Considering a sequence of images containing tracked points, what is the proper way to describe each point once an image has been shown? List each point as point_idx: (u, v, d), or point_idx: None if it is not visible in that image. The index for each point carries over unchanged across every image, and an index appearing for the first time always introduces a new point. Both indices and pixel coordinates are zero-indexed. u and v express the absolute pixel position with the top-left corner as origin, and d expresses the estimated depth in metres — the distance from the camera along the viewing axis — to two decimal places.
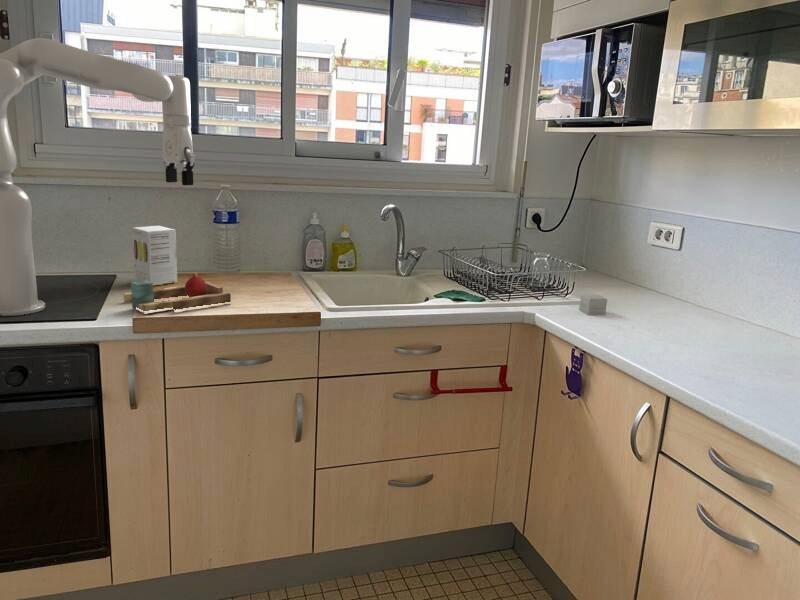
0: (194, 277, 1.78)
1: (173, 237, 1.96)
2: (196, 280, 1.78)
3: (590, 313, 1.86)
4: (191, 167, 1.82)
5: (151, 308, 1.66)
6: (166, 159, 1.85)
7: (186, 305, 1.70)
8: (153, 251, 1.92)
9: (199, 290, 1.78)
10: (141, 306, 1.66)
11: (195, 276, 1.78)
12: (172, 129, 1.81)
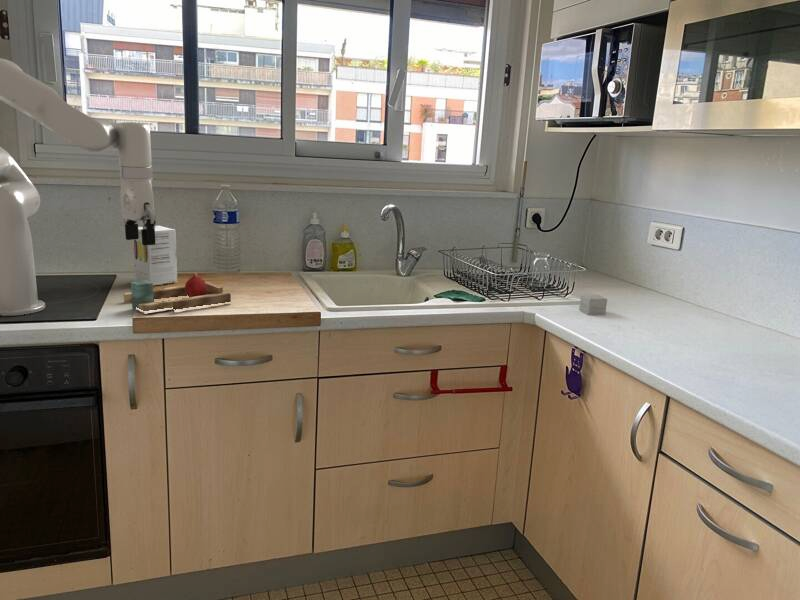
0: (194, 277, 1.78)
1: (173, 237, 1.96)
2: (196, 280, 1.78)
3: (590, 313, 1.86)
4: (152, 225, 1.61)
5: (151, 308, 1.66)
6: (125, 215, 1.64)
7: (186, 305, 1.70)
8: (153, 251, 1.92)
9: (199, 290, 1.78)
10: (141, 306, 1.66)
11: (195, 276, 1.78)
12: (130, 183, 1.59)
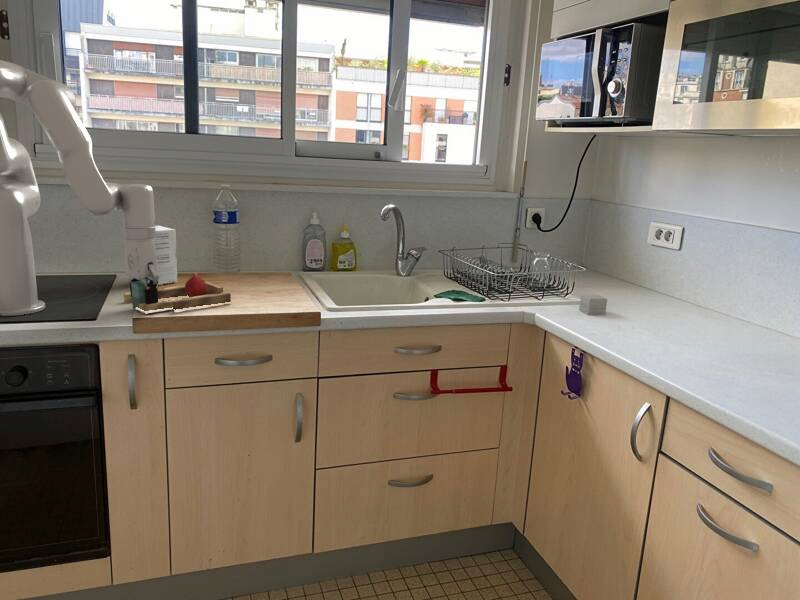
0: (194, 277, 1.78)
1: (173, 237, 1.96)
2: (196, 280, 1.78)
3: (590, 313, 1.86)
4: (155, 285, 1.64)
5: (151, 308, 1.66)
6: (129, 274, 1.67)
7: (186, 305, 1.70)
8: None
9: (199, 290, 1.78)
10: (141, 306, 1.66)
11: (195, 276, 1.78)
12: (133, 243, 1.63)
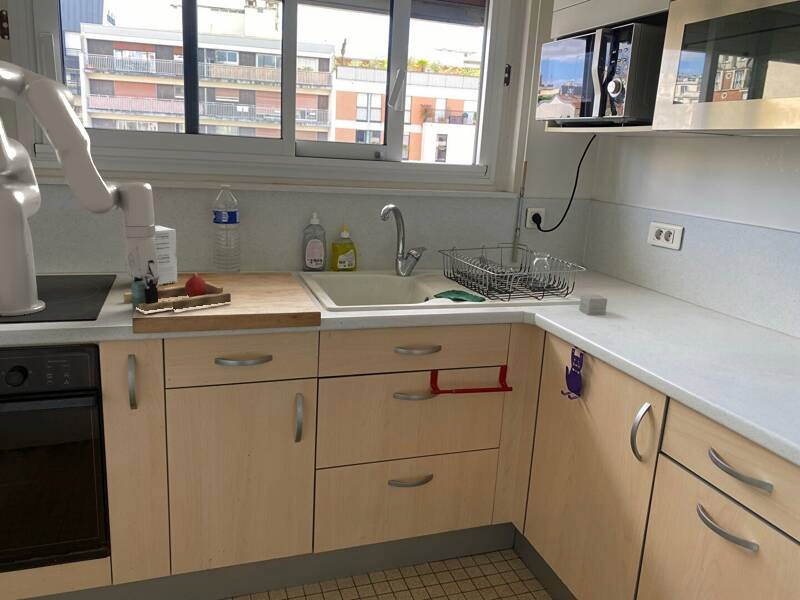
0: (194, 277, 1.78)
1: (173, 237, 1.96)
2: (196, 280, 1.78)
3: (590, 313, 1.86)
4: (154, 285, 1.65)
5: (151, 308, 1.66)
6: (130, 272, 1.67)
7: (186, 305, 1.70)
8: None
9: (199, 290, 1.78)
10: (141, 306, 1.66)
11: (195, 276, 1.78)
12: (134, 242, 1.62)
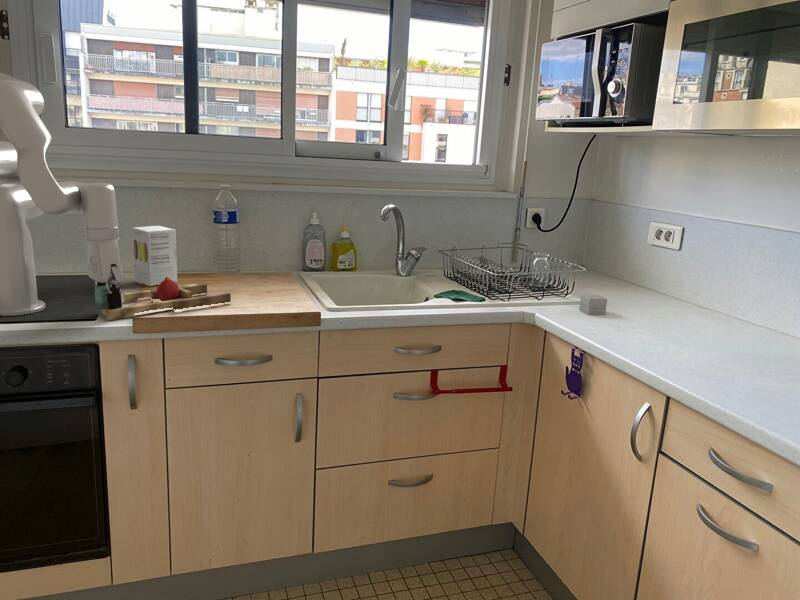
0: (166, 281, 1.73)
1: (173, 237, 1.96)
2: (168, 284, 1.72)
3: (590, 313, 1.86)
4: (117, 289, 1.58)
5: (115, 314, 1.60)
6: (92, 276, 1.60)
7: (186, 305, 1.70)
8: (153, 251, 1.92)
9: (172, 294, 1.72)
10: (104, 312, 1.60)
11: (167, 279, 1.73)
12: (95, 245, 1.56)
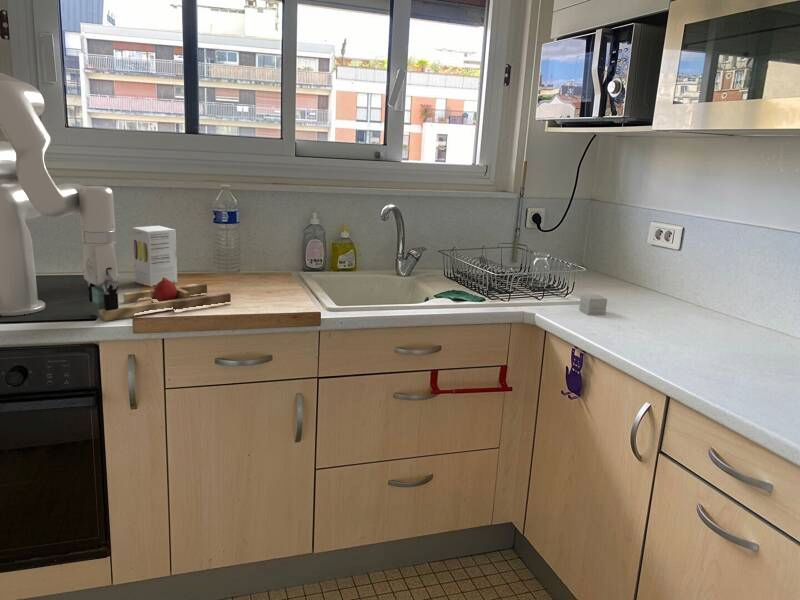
0: (163, 281, 1.72)
1: (173, 237, 1.96)
2: (166, 284, 1.72)
3: (590, 313, 1.86)
4: (114, 290, 1.57)
5: (112, 314, 1.59)
6: (87, 279, 1.60)
7: (186, 305, 1.70)
8: (153, 251, 1.92)
9: (169, 294, 1.72)
10: (101, 312, 1.59)
11: (164, 280, 1.72)
12: (92, 248, 1.56)
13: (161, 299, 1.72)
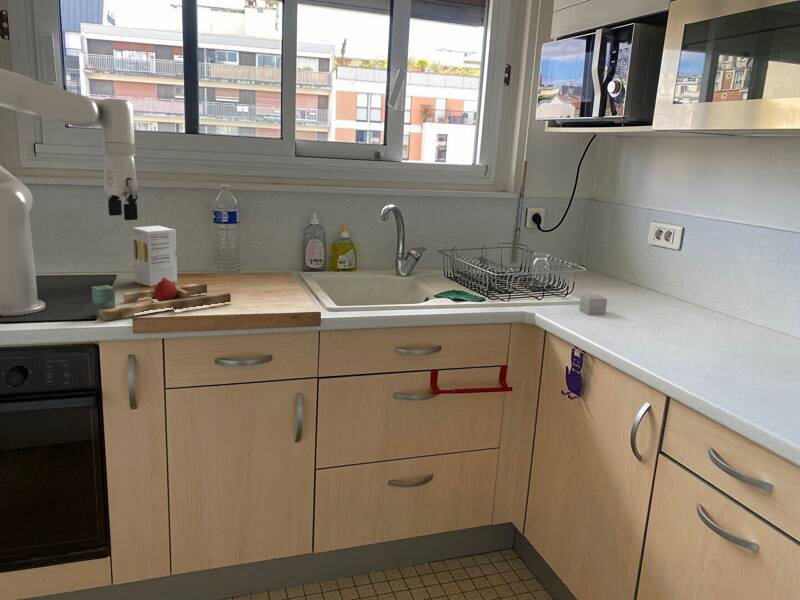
0: (163, 281, 1.72)
1: (173, 237, 1.96)
2: (166, 284, 1.72)
3: (590, 313, 1.86)
4: (134, 200, 1.63)
5: (112, 314, 1.59)
6: (108, 191, 1.66)
7: (186, 305, 1.70)
8: (153, 251, 1.92)
9: (169, 294, 1.72)
10: (101, 312, 1.59)
11: (164, 280, 1.72)
12: (112, 158, 1.62)
13: (161, 299, 1.72)
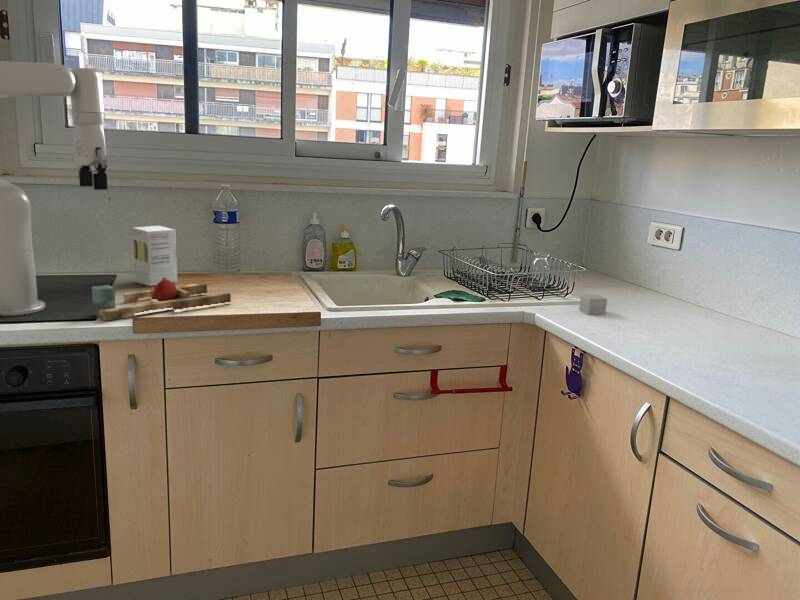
0: (163, 281, 1.72)
1: (173, 237, 1.96)
2: (166, 284, 1.72)
3: (590, 313, 1.86)
4: (103, 170, 1.64)
5: (112, 314, 1.59)
6: (78, 161, 1.67)
7: (186, 305, 1.70)
8: (153, 251, 1.92)
9: (169, 294, 1.72)
10: (101, 312, 1.59)
11: (164, 280, 1.72)
12: (81, 128, 1.63)
13: (161, 299, 1.72)
